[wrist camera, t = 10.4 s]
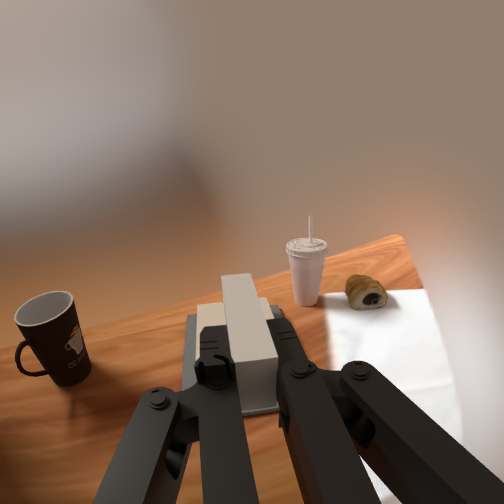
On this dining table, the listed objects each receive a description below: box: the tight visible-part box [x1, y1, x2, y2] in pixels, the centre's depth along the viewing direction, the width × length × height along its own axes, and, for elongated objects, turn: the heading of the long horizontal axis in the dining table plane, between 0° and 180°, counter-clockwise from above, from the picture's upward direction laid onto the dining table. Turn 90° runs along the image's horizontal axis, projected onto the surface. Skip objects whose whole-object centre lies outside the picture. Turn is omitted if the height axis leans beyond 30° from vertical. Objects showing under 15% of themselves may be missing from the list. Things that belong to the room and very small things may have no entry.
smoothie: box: [286, 215, 328, 306], centre depth 44 cm, size 6×6×14 cm
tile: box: [196, 297, 274, 360], centre depth 36 cm, size 10×2×13 cm
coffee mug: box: [14, 291, 91, 386], centre depth 28 cm, size 12×9×10 cm
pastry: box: [345, 275, 388, 310], centre depth 46 cm, size 9×7×4 cm
